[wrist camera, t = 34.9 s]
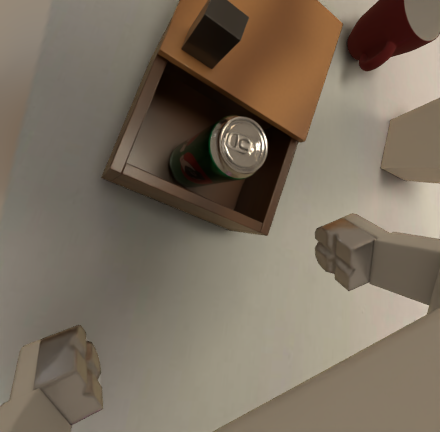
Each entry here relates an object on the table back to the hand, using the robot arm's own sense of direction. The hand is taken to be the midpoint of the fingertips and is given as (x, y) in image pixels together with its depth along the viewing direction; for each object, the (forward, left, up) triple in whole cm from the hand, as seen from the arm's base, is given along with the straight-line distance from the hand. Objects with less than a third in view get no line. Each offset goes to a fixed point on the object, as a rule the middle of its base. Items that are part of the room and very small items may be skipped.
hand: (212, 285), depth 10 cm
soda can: (+4, +10, -23) cm, 26 cm away
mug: (+23, +37, -24) cm, 49 cm away
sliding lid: (+5, +22, -16) cm, 27 cm away
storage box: (+5, +12, -24) cm, 27 cm away
